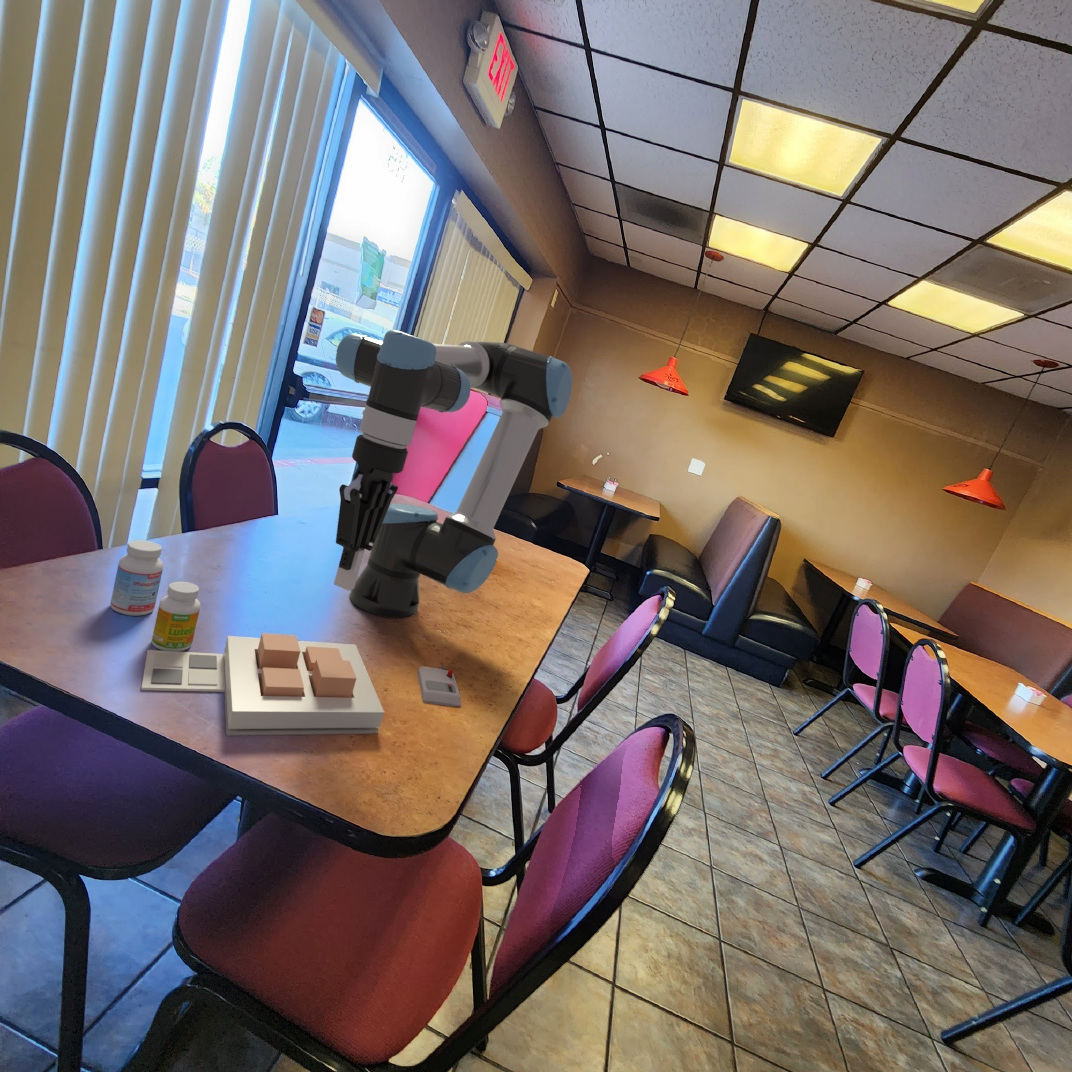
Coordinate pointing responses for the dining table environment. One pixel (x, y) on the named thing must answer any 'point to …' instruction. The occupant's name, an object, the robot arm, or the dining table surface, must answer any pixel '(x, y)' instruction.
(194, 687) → the card
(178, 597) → the supplement bottle
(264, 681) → the button
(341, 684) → the button
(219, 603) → the dining table surface
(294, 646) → the button
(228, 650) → the board
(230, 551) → the dining table surface
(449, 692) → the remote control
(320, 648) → the button
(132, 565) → the pill bottle
